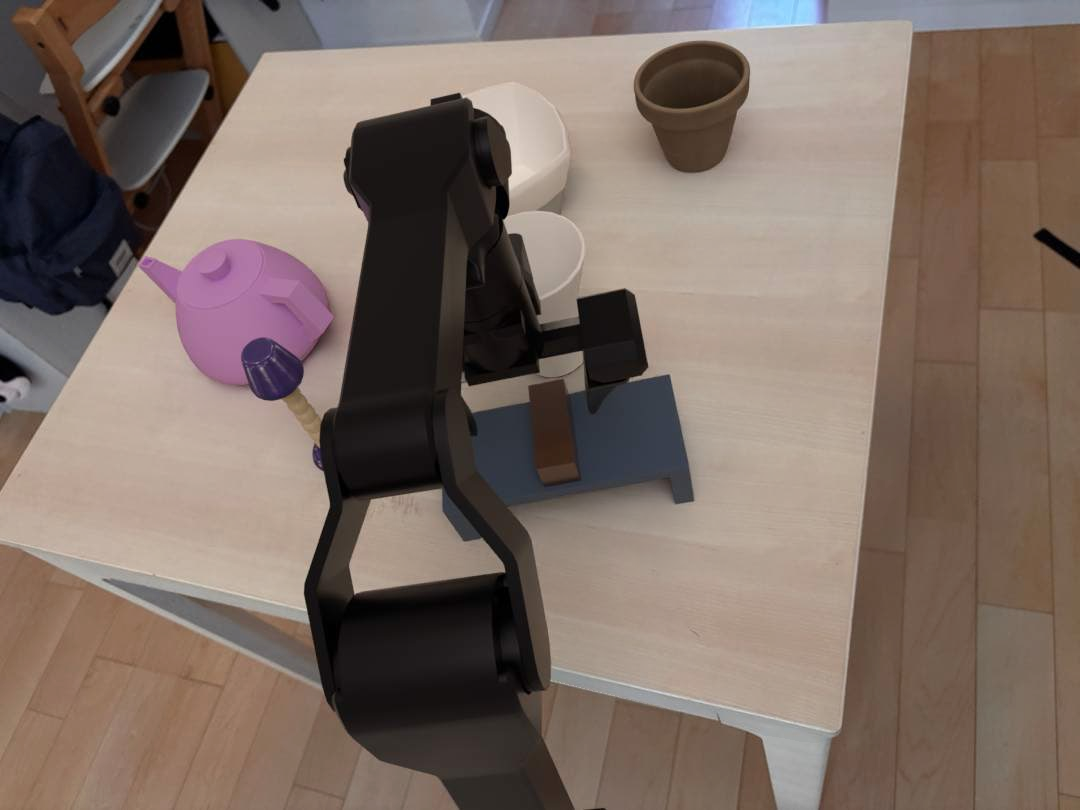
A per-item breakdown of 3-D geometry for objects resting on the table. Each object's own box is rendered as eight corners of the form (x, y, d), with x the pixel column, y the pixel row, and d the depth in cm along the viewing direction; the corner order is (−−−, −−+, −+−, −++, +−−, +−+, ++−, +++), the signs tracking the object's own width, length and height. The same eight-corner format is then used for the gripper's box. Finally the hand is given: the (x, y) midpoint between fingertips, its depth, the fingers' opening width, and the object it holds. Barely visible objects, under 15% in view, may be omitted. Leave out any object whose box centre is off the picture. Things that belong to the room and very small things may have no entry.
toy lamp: (353, 424, 84) (274, 318, 71) (368, 459, 82) (289, 356, 68) (309, 447, 84) (220, 345, 70) (323, 483, 81) (233, 385, 68)
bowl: (459, 295, 90) (430, 232, 83) (406, 197, 101) (376, 133, 93) (609, 220, 92) (595, 152, 84) (542, 131, 102) (523, 63, 94)
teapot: (385, 295, 93) (339, 215, 83) (314, 415, 86) (256, 343, 76) (227, 265, 101) (169, 188, 91) (151, 372, 94) (79, 302, 84)
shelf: (694, 501, 72) (689, 466, 67) (463, 541, 75) (442, 511, 70) (675, 411, 77) (669, 373, 72) (460, 452, 80) (440, 418, 75)
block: (581, 480, 69) (574, 462, 66) (544, 487, 69) (536, 469, 66) (570, 398, 73) (563, 378, 71) (535, 405, 73) (527, 385, 71)
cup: (559, 414, 80) (526, 324, 69) (482, 362, 85) (439, 270, 74) (632, 337, 83) (611, 239, 72) (552, 292, 88) (521, 194, 77)
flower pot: (709, 102, 98) (703, 22, 90) (773, 151, 92) (774, 71, 84) (624, 151, 97) (611, 75, 89) (683, 205, 90) (675, 128, 82)
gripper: (610, 165, 57) (639, 315, 69) (340, 226, 59) (416, 360, 72) (633, 292, 50) (661, 431, 63) (331, 355, 53) (416, 476, 65)
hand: (533, 420), depth 66 cm, fingers open, 9 cm apart
